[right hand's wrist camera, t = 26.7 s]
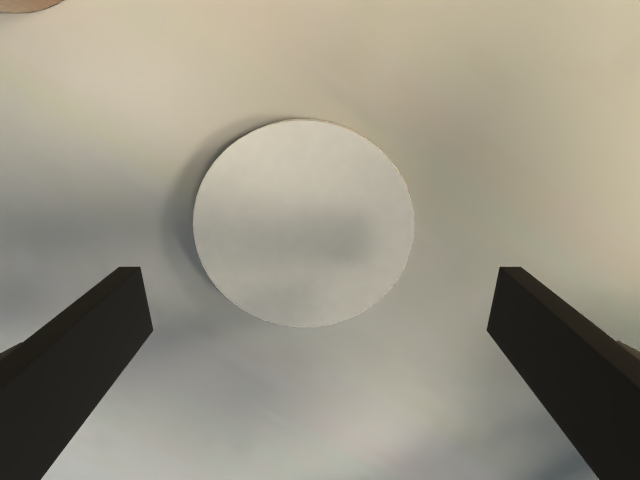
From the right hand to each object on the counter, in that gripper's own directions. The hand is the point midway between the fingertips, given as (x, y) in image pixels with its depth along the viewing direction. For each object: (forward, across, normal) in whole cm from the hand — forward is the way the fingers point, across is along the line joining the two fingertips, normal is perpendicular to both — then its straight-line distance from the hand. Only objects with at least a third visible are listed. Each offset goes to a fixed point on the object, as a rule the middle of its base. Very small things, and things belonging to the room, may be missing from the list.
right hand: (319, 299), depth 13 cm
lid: (+5, +1, -1) cm, 5 cm away
